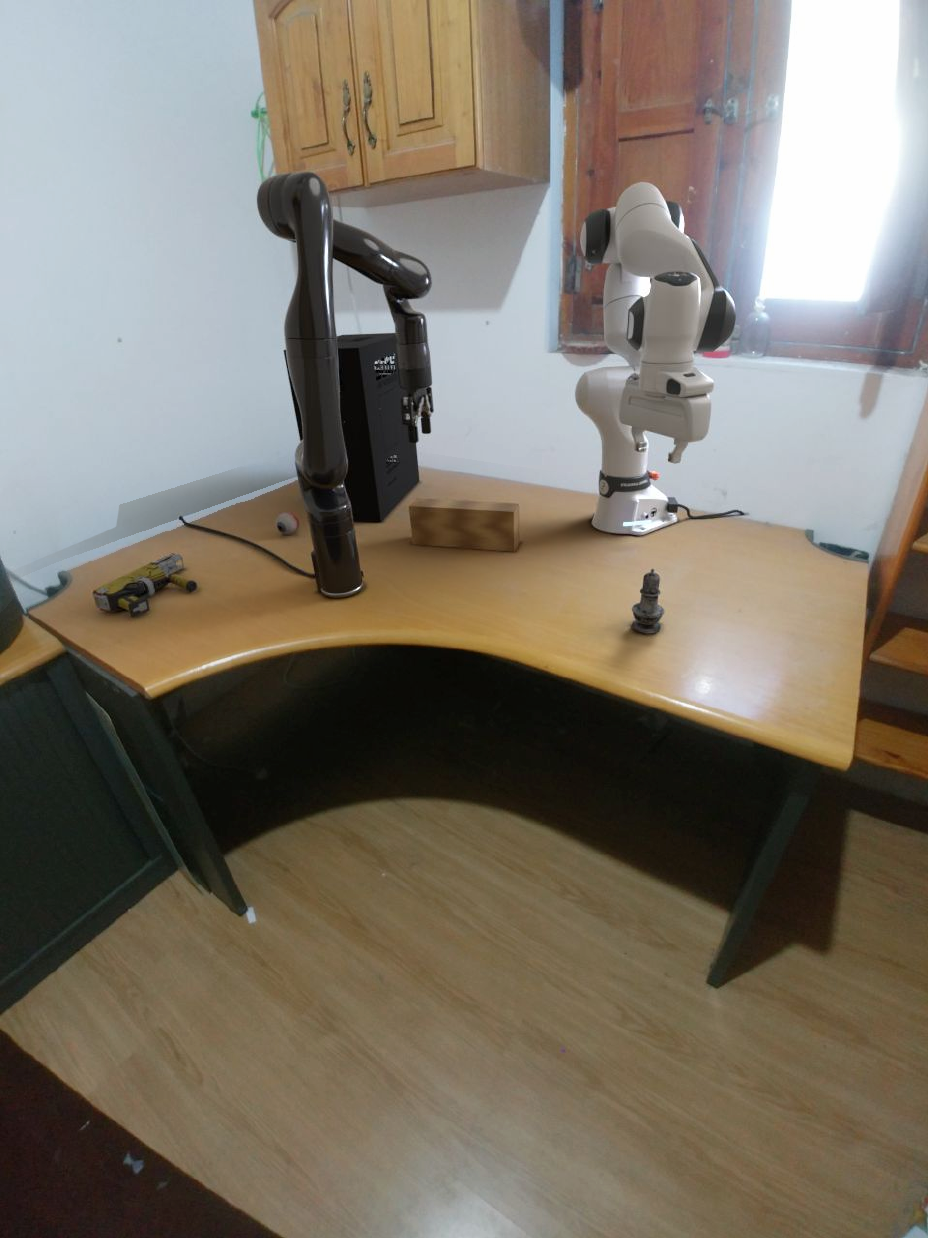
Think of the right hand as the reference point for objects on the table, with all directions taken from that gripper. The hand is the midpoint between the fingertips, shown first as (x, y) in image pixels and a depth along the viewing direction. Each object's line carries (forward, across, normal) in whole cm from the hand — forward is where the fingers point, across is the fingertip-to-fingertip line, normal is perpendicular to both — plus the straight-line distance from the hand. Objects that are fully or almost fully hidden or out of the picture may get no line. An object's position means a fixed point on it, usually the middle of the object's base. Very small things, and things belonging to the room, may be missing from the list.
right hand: (656, 456), depth 113 cm
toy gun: (+28, -53, -93) cm, 111 cm away
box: (+28, -42, -21) cm, 55 cm away
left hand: (+2, -49, -29) cm, 57 cm away
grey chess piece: (+28, +12, -9) cm, 32 cm away
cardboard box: (+28, -90, -32) cm, 99 cm away
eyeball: (+28, -74, -60) cm, 99 cm away
